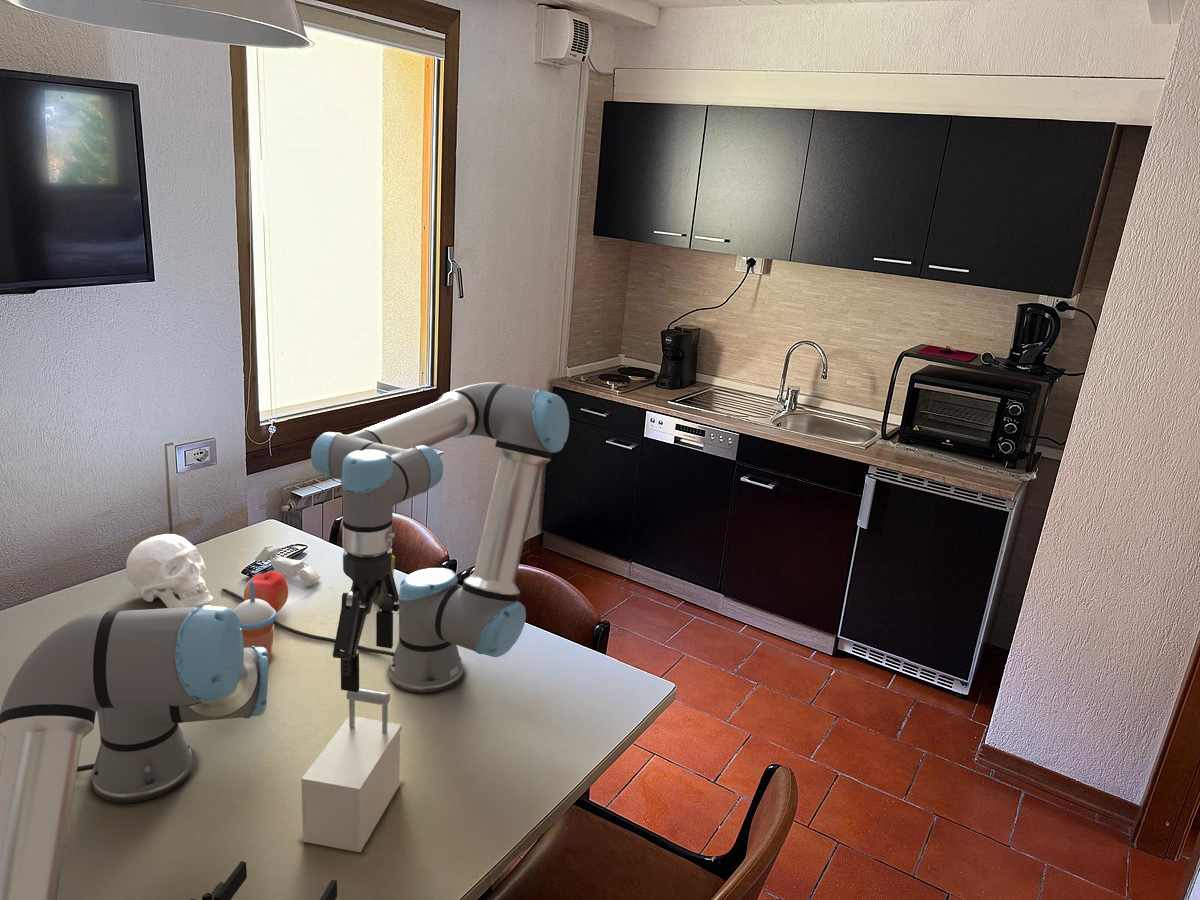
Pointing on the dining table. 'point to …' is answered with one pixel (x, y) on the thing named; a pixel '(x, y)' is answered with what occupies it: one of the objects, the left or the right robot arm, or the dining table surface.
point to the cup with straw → (256, 622)
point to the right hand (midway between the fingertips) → (368, 667)
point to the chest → (350, 807)
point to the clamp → (288, 565)
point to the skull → (168, 571)
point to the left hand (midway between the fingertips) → (289, 878)
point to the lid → (354, 748)
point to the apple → (269, 589)
